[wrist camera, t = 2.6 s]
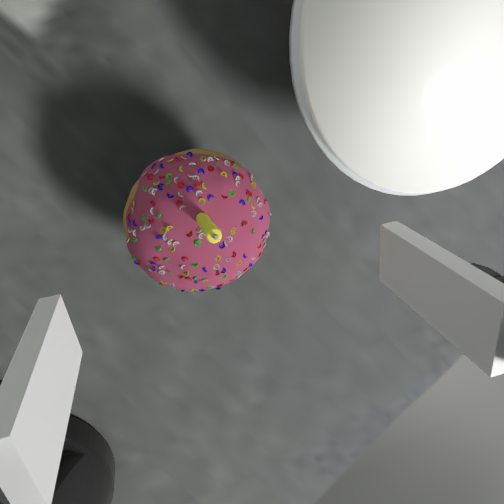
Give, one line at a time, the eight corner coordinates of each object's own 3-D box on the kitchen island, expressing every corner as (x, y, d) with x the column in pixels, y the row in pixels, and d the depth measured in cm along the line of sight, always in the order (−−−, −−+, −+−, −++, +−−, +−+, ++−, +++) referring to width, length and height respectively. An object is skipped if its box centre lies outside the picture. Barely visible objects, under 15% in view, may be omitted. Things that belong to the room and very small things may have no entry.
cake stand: (270, 191, 29) (308, 224, 23) (239, -106, 22) (282, -180, 15) (471, 151, 32) (554, 171, 26) (501, -120, 25) (627, -187, 18)
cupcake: (109, 151, 25) (90, 207, 15) (241, 127, 27) (310, 162, 16) (143, 271, 29) (148, 387, 18) (257, 244, 30) (323, 336, 20)
